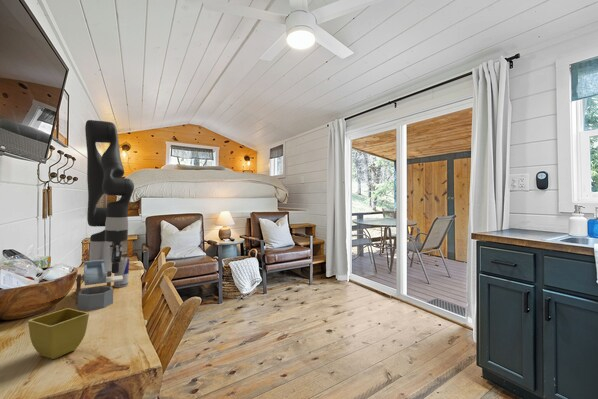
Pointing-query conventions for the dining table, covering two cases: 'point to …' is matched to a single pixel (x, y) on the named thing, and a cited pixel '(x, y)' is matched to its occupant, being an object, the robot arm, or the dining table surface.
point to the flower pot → (58, 332)
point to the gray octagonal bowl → (95, 297)
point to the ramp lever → (97, 273)
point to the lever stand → (88, 287)
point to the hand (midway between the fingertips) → (115, 272)
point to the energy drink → (123, 272)
